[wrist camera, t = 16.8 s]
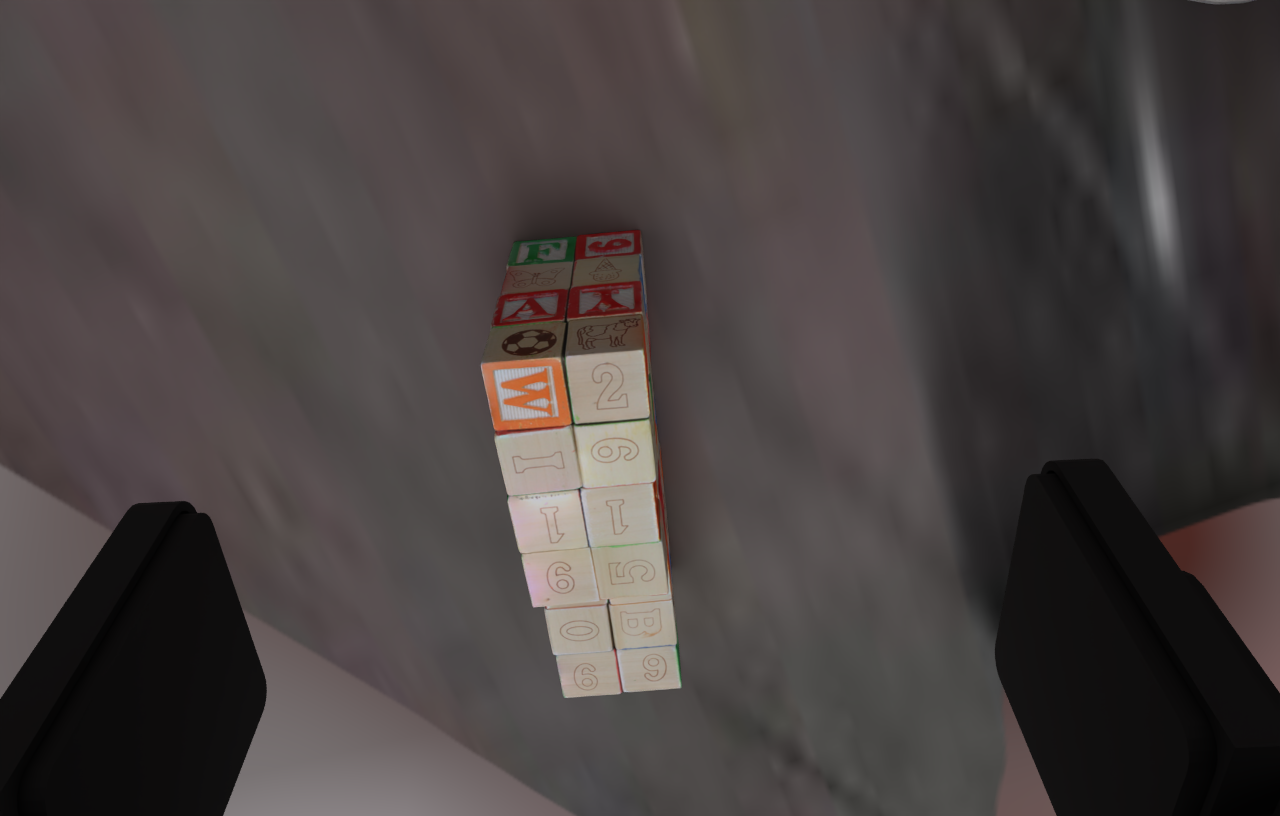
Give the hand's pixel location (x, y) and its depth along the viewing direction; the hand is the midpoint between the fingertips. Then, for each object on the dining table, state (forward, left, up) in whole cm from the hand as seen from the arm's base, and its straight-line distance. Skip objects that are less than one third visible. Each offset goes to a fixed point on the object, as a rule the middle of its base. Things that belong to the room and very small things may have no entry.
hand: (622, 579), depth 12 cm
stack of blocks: (+2, +21, -37) cm, 42 cm away
